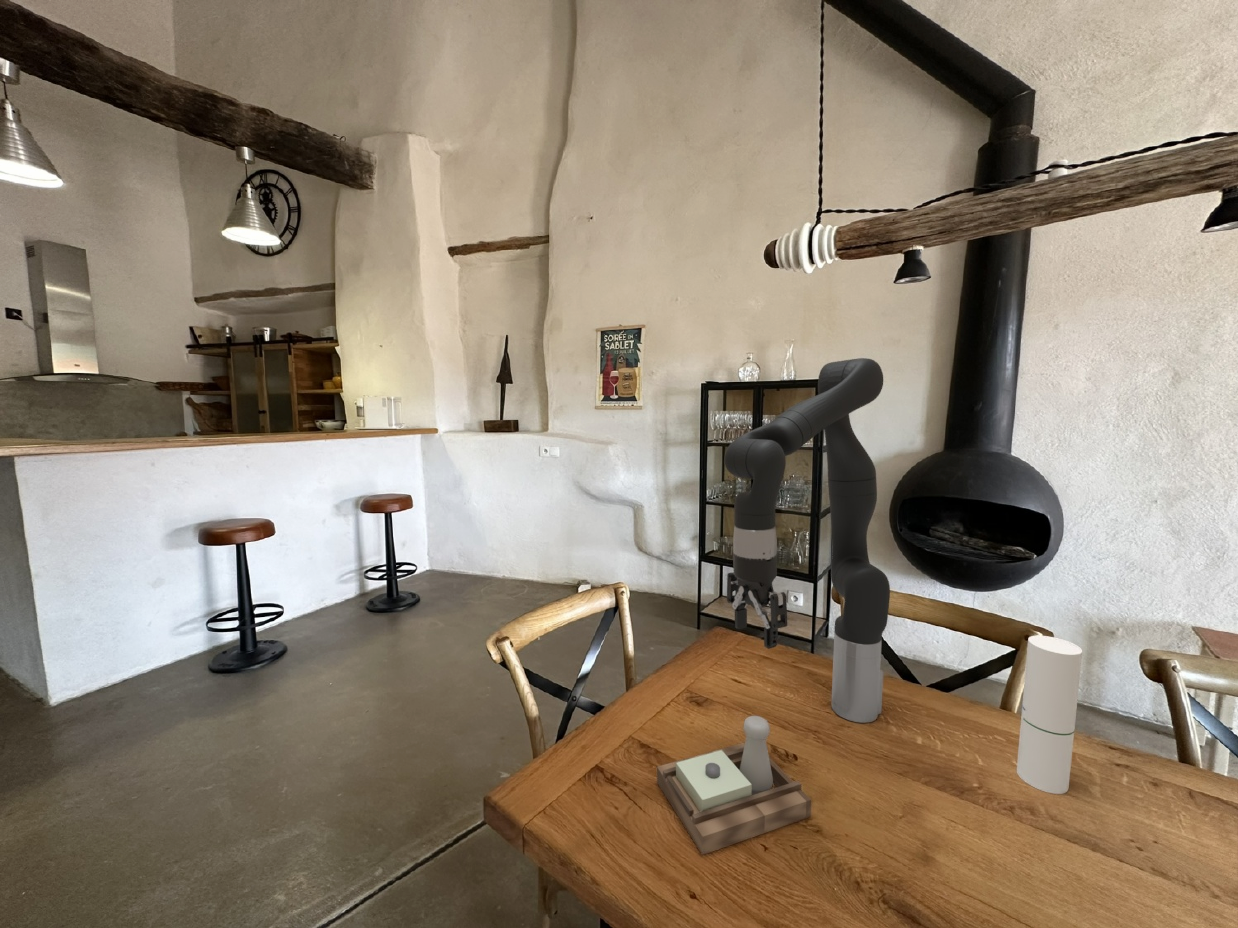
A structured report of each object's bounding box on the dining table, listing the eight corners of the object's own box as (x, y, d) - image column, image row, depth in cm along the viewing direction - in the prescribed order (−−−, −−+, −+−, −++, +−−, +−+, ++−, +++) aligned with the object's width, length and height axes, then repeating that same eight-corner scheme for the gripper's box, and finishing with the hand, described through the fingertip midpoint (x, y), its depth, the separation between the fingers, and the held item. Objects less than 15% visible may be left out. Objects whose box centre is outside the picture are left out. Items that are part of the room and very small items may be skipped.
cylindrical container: (1060, 771, 94) (1073, 639, 91) (1075, 798, 87) (1089, 658, 85) (1012, 760, 97) (1023, 632, 94) (1022, 786, 90) (1035, 649, 88)
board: (752, 754, 99) (752, 735, 99) (810, 816, 84) (811, 793, 84) (656, 782, 92) (656, 761, 92) (702, 854, 77) (702, 830, 77)
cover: (721, 762, 92) (721, 744, 92) (751, 798, 84) (751, 778, 83) (675, 776, 89) (676, 757, 89) (702, 814, 81) (702, 793, 80)
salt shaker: (769, 779, 92) (771, 711, 91) (775, 804, 87) (778, 731, 85) (735, 777, 93) (737, 709, 91) (740, 802, 87) (741, 729, 86)
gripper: (714, 544, 98) (715, 626, 100) (763, 564, 85) (763, 659, 86) (747, 538, 101) (748, 618, 102) (799, 557, 87) (799, 649, 89)
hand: (755, 637), depth 94 cm, fingers open, 8 cm apart
